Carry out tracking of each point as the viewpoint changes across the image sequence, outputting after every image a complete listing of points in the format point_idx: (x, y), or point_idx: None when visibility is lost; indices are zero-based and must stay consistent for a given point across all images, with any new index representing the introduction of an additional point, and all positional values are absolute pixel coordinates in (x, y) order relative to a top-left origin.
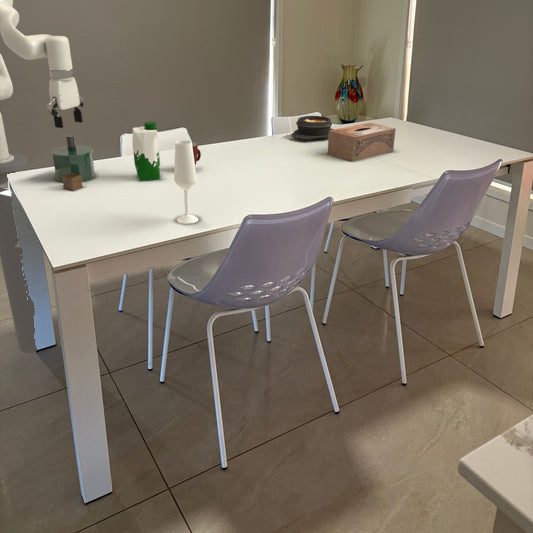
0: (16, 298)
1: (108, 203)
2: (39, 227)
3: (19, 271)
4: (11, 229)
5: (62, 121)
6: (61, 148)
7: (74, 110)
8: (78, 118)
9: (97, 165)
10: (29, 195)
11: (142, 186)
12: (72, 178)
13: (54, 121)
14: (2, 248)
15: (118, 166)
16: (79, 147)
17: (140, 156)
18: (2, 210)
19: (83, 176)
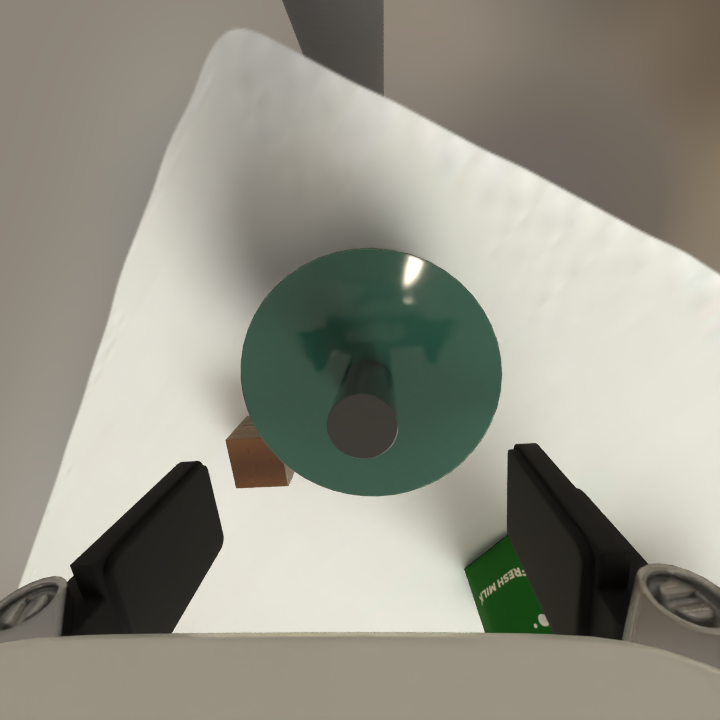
0: None
1: (247, 610)
2: (26, 582)
3: None
4: (316, 62)
5: (189, 602)
6: (356, 297)
7: (631, 553)
8: (524, 541)
9: (565, 291)
10: (124, 370)
11: (422, 602)
12: (239, 487)
13: (139, 502)
14: None
15: (594, 386)
16: (441, 375)
17: None
18: (287, 6)
19: None
